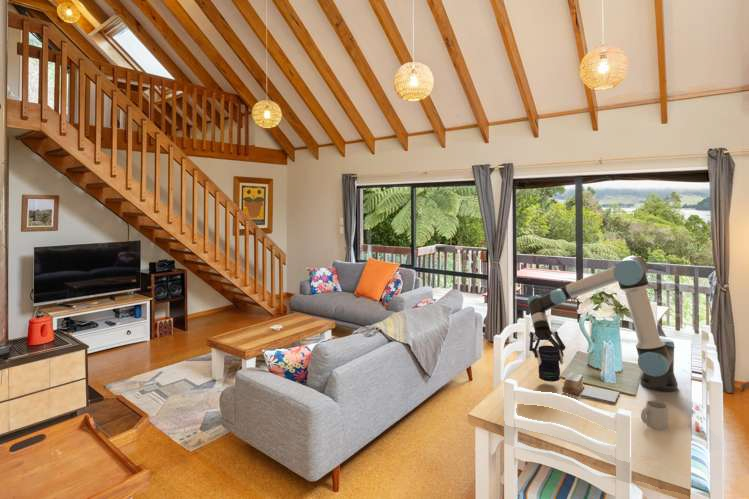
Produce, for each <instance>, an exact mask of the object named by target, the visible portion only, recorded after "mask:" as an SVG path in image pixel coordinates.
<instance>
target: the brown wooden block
mask: <svg viewBox="0 0 749 499" xmlns="http://www.w3.org/2000/svg"><path fill="white" fill-rule="evenodd" d="M583 378H584V374H582V373H575V372H569V374H568V375H567V376H566V377H565V380H564V381H563V385H562V387H561V388H562V390H561V391H562V392H565V393H568V394H567V395H570V394H571V396H575V397H580V396H581V393H582V392H583V390H584V389H585V385H584V381H583ZM565 393H564V394H565Z"/></svg>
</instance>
